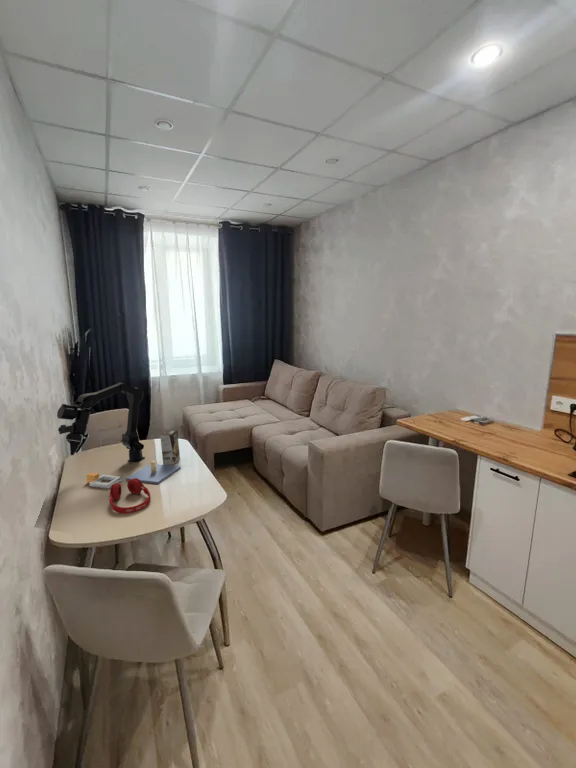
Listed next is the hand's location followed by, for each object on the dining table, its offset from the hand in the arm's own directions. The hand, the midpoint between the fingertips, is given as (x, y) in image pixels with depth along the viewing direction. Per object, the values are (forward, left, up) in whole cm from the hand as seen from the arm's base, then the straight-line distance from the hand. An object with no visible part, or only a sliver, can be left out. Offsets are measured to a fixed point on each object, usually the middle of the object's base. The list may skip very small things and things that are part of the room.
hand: (74, 453), depth 171 cm
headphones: (+11, +40, -14) cm, 44 cm away
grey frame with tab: (-1, +13, -14) cm, 19 cm away
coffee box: (-31, +31, -14) cm, 46 cm away
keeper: (-15, +32, -14) cm, 38 cm away
